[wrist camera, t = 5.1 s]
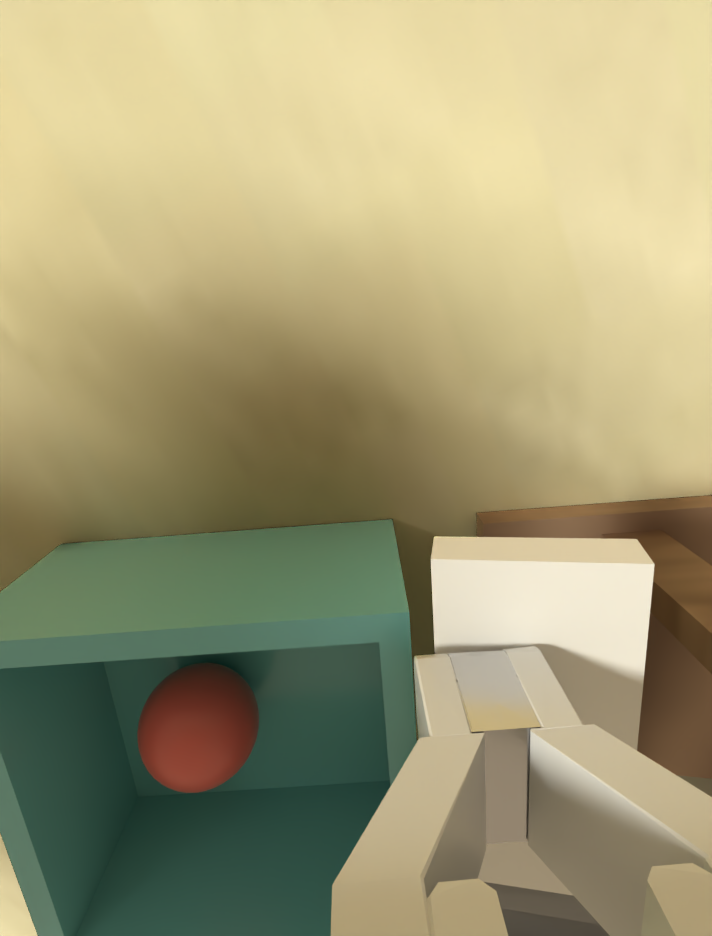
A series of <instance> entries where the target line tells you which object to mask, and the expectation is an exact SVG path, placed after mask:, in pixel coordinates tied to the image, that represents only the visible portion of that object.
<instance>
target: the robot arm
mask: <svg viewBox="0 0 712 936" xmlns="http://www.w3.org/2000/svg"><path fill="white" fill-rule="evenodd" d="M414 678H415V697H416V716H417V727H418V738H419V739H418V741H417V743H416V744H415V746H414V748H413V749H412V751H411V753H410V754H409V756H408V758H407V760H406V761H405V763H404V765H403V766H402V768H401V770H400V771H399V773H398V775H397V776H396V778H395V780H394V782H393V783H392V785H391V787H390V788H389V790H388V792H387V793H386V795H385V797H384V798H383V800H382V802H381V804H380V805H379V807H378V809H377V810H376V812H375V814H374V815H373V817H372V819H371V820H370V822H369V824H368V826H367V827H366V829H365V831H364V832H363V834H362V836H361V837H360V839H359V841H358V842H357V844H356V846H355V848H354V849H353V851H352V853H351V854H350V856H349V858H348V859H347V861H346V863H345V864H344V866H343V868H342V870H341V871H340V873H339V875H338V876H337V878H336V880H335V881H334V883H333V885H332V909H331V936H508V933H507V929H506V925H505V922H504V918H503V914H502V910H501V907H500V903H499V899H498V895H497V892H496V891H495V890H494V889H493V888H491V887H490V886H488V885H487V884H486V883H484V882H483V881H481V880H480V879H478V876H479V873H480V869H481V866H482V862H483V859H484V856H485V852H486V845H487V844H496V843H505V842H528V846H529V847H530V848H531V849H532V850H533V851H534V852H535V853H536V855H537V856H538V857H539V858H540V859H541V860H542V861H543V862H544V863H545V865H546V866H547V867H548V868H549V869H550V870H551V871H552V872H553V873H554V874H555V876H556V877H557V878H558V879H559V880H560V881H561V882H562V883H563V884H564V886H565V887H566V888H567V889H568V890H569V891H570V892H571V893H572V894H573V895H574V897H575V898H576V899H577V900H578V901H579V902H580V903H581V904H582V905H583V907H584V908H585V909H586V910H587V911H588V912H589V913H590V914H591V915H592V916H593V918H594V919H595V920H596V921H597V922H598V923H599V924H600V925H601V926H602V928H603V929H604V930H605V931H606V932H607V933H608V934H609V935H610V936H712V797H711V796H709V795H707V794H706V793H704V792H703V791H701V790H699V789H698V788H696V787H695V786H693V785H691V784H690V783H688V782H687V781H685V780H683V779H682V778H680V777H678V776H677V775H675V774H674V773H672V772H670V771H669V770H667V769H666V768H664V767H662V766H661V765H659V764H658V763H656V762H654V761H653V760H651V759H650V758H648V757H646V756H645V755H643V754H641V753H640V752H638V751H637V750H635V749H633V748H632V747H630V746H629V745H627V744H625V743H624V742H622V741H621V740H619V739H617V738H616V737H614V736H613V735H611V734H609V733H608V732H606V731H604V730H603V729H601V728H600V727H598V726H596V725H595V724H592V725H584V724H583V723H582V721H581V719H580V718H579V716H578V714H577V712H576V711H575V709H574V707H573V706H572V704H571V702H570V700H569V699H568V697H567V695H566V693H565V692H564V690H563V688H562V687H561V685H560V683H559V681H558V680H557V678H556V676H555V675H554V673H553V671H552V669H551V668H550V666H549V664H548V662H547V661H546V659H545V657H544V656H543V654H542V652H541V650H540V649H538V648H537V647H535V646H531V647H522V648H512V649H503V650H499V651H481V652H463V653H448V654H433V655H419V656H415V657H414Z"/></svg>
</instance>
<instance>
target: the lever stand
mask: <svg viewBox="0 0 712 936" xmlns="http://www.w3.org/2000/svg"><path fill="white" fill-rule="evenodd" d="M477 537H522V538H601V539H637V540H638V541H639V543H640V544H641V546H642V547H643V548H644V550H645V551H646V553H647V554H648V555H649V557H650V558H651V560H652V561H653V563H654V564H655V565H654V576H653V586H652V597H651V608H650V618H649V629H648V639H647V650H646V660H645V671H644V681H643V692H642V703H641V713H640V724H639V734H638V745H637V751H638V752H640V753H641V754H643V755H645V756H646V757H648V758H650V759H651V760H653V761H654V762H656V763H658V764H659V765H661V766H662V767H664V768H666V769H667V770H669V771H670V772H672V773H674V774H675V775H679V776H689V777H699V778H709V779H712V495H708V496H695V497H681V498H668V499H655V500H641V501H628V502H614V503H601V504H588V505H574V506H561V507H548V508H534V509H521V510H508V511H494V512H481V513H477Z"/></svg>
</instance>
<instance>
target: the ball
mask: <svg viewBox="0 0 712 936" xmlns="http://www.w3.org/2000/svg"><path fill="white" fill-rule="evenodd" d="M258 729H259V710H258V705H257V701H256V698H255V696H254V693H253V691H252V689H251V688H250V686H249V684H248V683H247V682H246V681H245V680H244V678H243V677H242V676H240V675H239V674H238V673H237V672H235V671H234V670H232V669H230V668H228V667H226V666H223V665H219V664H215V663H197V664H192V665H188V666H186V667H183V668H181V669H179V670H177V671H175V672H173V673H172V674H170V675H169V676H167V677H166V678H165V679H164V680H163V681H162V682H160V683H159V684H158V685H157V687H156V688H155V689H154V690H153V692H152V693H151V694H150V696H149V697H148V699H147V701H146V703H145V705H144V707H143V709H142V712H141V715H140V719H139V724H138V732H137V739H138V748H139V753H140V756H141V759H142V761H143V763H144V765H145V767H146V769H147V770H148V772H149V773H150V774H151V775H152V777H153V778H154V779H156V780H157V781H158V782H159V783H161V784H162V785H164V786H165V787H167V788H169V789H172V790H175V791H178V792H185V793H197V792H203V791H207V790H210V789H212V788H215V787H217V786H219V785H221V784H223V783H224V782H226V781H227V780H229V779H230V778H231V777H232V776H234V775H235V774H236V773H237V772H238V771H239V770H240V768H241V767H242V766H243V765H244V764H245V762H246V760H247V759H248V757H249V756H250V754H251V752H252V749H253V747H254V745H255V742H256V739H257V734H258Z"/></svg>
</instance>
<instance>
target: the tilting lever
mask: <svg viewBox="0 0 712 936" xmlns="http://www.w3.org/2000/svg"><path fill="white" fill-rule="evenodd" d="M654 565H655V564H654V563H653V561H652V560H651V558H650V557H649V555H648V554H647V553H646V551H645V550H644V548H643V547H642V546H641V544H640V543H639V541H638V540H637V539H601V538H522V537H443V536H434V541H433V547H432V554H431V578H432V601H433V625H434V649H435V654H448V653H463V652H481V651H499V650H503V649H512V648H522V647H531V646H535V647H537V648H538V649H540V650H541V652H542V654H543V656H544V657H545V659H546V661H547V662H548V664H549V666H550V668H551V669H552V671H553V673H554V675H555V676H556V678H557V680H558V681H559V683H560V685H561V687H562V688H563V690H564V692H565V693H566V695H567V697H568V699H569V700H570V702H571V704H572V706H573V707H574V709H575V711H576V712H577V714H578V716H579V718H580V719H581V721H582V723H583V724H584V725H592V724H595V725H596V726H598V727H600V728H601V729H603V730H604V731H606V732H608V733H609V734H611V735H613V736H614V737H616V738H617V739H619V740H621V741H622V742H624V743H625V744H627V745H629V746H630V747H632V748H633V749H635V750H637V745H638V734H639V724H640V713H641V703H642V692H643V681H644V671H645V660H646V650H647V639H648V629H649V618H650V608H651V597H652V586H653V576H654ZM677 776H678V777H680V778H682V779H683V780H685V781H687V782H688V783H690V784H691V785H693V786H695V787H696V788H698V789H699V790H701V791H703V792H704V793H706V794H707V795H709V796H711V797H712V779H709V778H699V777H689V776H679V775H677ZM478 879H480V880H481V881H483V882H484V883H486V884H487V885H488V886H490V887H491V888H493V889H494V890H495V891H496V892H497V895H498V899H499V903H500V907H501V910H502V914H503V918H504V922H505V925H506V929H507V933H508V936H610V935H609V934H608V933H607V932H606V931H605V930H604V929H603V928H602V926H601V925H600V924H599V923H598V922H597V921H596V920H595V919H594V918H593V916H592V915H591V914H590V913H589V912H588V911H587V910H586V909H585V908H584V907H583V905H582V904H581V903H580V902H579V901H578V900H577V899H576V898H575V897H574V895H573V894H572V893H571V892H570V891H569V890H568V889H567V888H566V887H565V886H564V884H563V883H562V882H561V881H560V880H559V879H558V878H557V877H556V876H555V874H554V873H553V872H552V871H551V870H550V869H549V868H548V867H547V866H546V865H545V863H544V862H543V861H542V860H541V859H540V858H539V857H538V856H537V855H536V853H535V852H534V851H533V850H532V849H531V848H530V847H529V846H528V842H505V843H496V844H487V845H486V852H485V856H484V859H483V862H482V866H481V869H480V873H479V876H478Z"/></svg>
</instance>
